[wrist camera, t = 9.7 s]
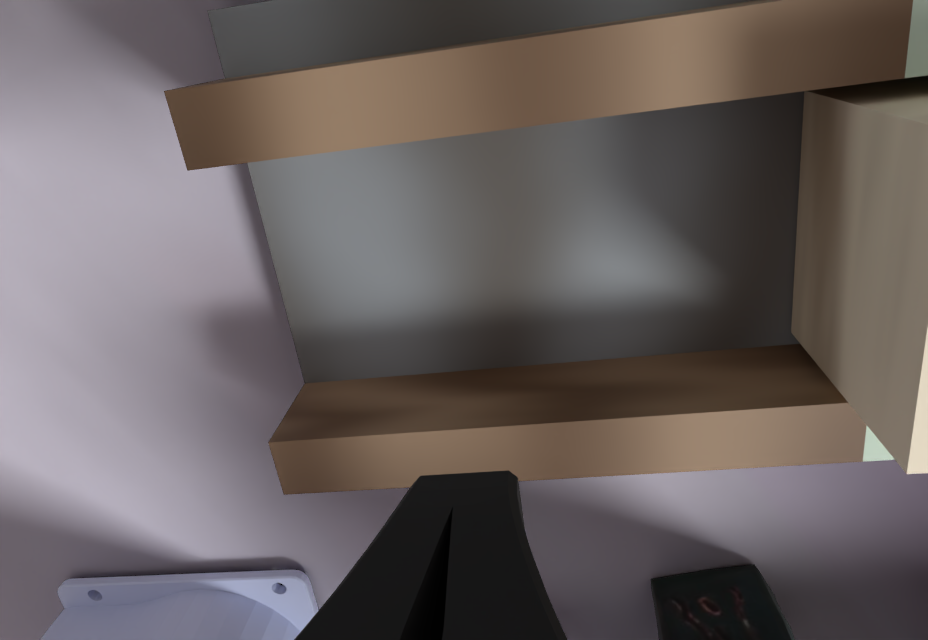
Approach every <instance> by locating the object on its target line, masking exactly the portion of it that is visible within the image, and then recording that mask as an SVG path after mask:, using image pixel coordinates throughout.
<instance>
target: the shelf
mask: <svg viewBox="0 0 928 640" xmlns="http://www.w3.org/2000/svg"><path fill="white" fill-rule="evenodd" d="M207 12H208V15H209V19H210V23H211V27H212V31H213V34H214V38H215V42H216V46H217V50H218V54H219V57H220V61H221V65H222V69H223V73H224V77H225V79H221V80H216V81H211V82H206V83H201V84H197V85H192V86H187V87H182V88H177V89H172V90H167V91H164V93H165V96H166V100H167V103H168V106H169V110H170V113H171V116H172V120H173V123H174V127H175V130H176V133H177V137H178V140H179V143H180V147H181V150H182V153H183V157H184V160H185V164H186V167H187V170H195V169H203V168H211V167H219V166H227V165H234V164H242V163H247V164H248V168H249V172H250V176H251V180H252V184H253V187H254V191H255V195H256V199H257V203H258V206H259V210H260V214H261V218H262V222H263V226H264V229H265V233H266V237H267V241H268V245H269V248H270V252H271V256H272V260H273V264H274V268H275V271H276V275H277V279H278V283H279V287H280V291H281V294H282V298H283V302H284V306H285V310H286V313H287V317H288V321H289V325H290V329H291V333H292V336H293V340H294V344H295V348H296V352H297V356H298V359H299V363H300V367H301V371H302V375H303V378H304V382H305V384H304V386H303V387H302V389H301V390H300V392H299V394H298V395H297V397H296V399H295V400H294V402H293V403H292V405H291V407H290V408H289V410H288V411H287V413H286V415H285V416H284V418H283V420H282V421H281V423H280V424H279V426H278V428H277V429H276V431H275V433H274V434H273V436H272V437H271V439H270V441H269V442H268V443H269V446H270V450H271V453H272V456H273V460H274V463H275V467H276V470H277V473H278V477H279V480H280V483H281V487H282V490H283V493H284V495H285V494H302V493H320V492H337V491H355V490H372V489H390V488H407V487H411V486H412V485H413V483H414V482H415V481H416V480H417V479H418V478H419V477H420V476H423V475H440V474H457V473H474V472H491V471H507V470H509V471H510V472H511V473H513V474H514V475H515V476H517V477H518V481H530V480H548V479H565V478H583V477H600V476H618V475H635V474H653V473H670V472H688V471H705V470H723V469H740V468H758V467H775V466H793V465H811V464H828V463H846V462H863V461H881V460H895V459H894V458H893V457H892V455H891V454H890V453H889V452H888V451H887V449H886V448H885V447H884V446H883V444H882V443H881V442H880V441H879V440H878V438H877V437H876V436H875V435H874V433H873V432H872V431H871V430H870V428H869V427H868V426H867V425H866V424H865V422H864V421H863V420H862V419H861V417H860V416H859V415H858V414H857V413H856V411H855V410H854V409H853V408H852V406H851V405H850V404H849V403H848V402H847V400H846V399H845V398H844V397H843V395H842V394H841V393H840V392H839V391H838V389H837V388H836V387H835V386H834V384H833V383H832V382H831V381H830V379H829V378H828V377H827V376H826V375H825V373H824V372H823V371H822V370H821V368H820V367H819V366H818V365H817V364H816V362H815V361H814V360H813V359H812V357H811V356H810V355H809V354H808V353H807V351H806V350H805V349H804V348H803V346H802V345H801V344H800V343H799V342H798V340H797V339H796V338H795V337H794V335H793V334H792V333H791V324H792V306H793V288H794V270H795V252H796V234H797V216H798V197H799V179H800V161H801V143H802V125H803V107H804V91H810V90H817V89H825V88H833V87H841V86H848V85H856V84H864V83H872V82H879V81H887V80H895V79H903V78H911V77H918V76H926V75H928V0H271V1H265V2H259V3H253V4H247V5H240V6H234V7H228V8H222V9H216V10H210V11H207Z"/></svg>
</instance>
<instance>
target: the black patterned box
mask: <svg viewBox="0 0 928 640" xmlns="http://www.w3.org/2000/svg"><path fill="white" fill-rule="evenodd" d="M651 589H652V595H653V601H654V608H655V614H656V619H657V626H658V634H659V640H795V639H794V636H793V634H792V631H791V628H790V626H789V624H788V623H787V621H786V619H785V618H784V616H783V614H782V612H781V610H780V608H779V605H778V603H777V601H776V598H775V596H774V594H773V592H772V591H771V589H770V588H769V586H768V584H767V583H766V581H765V580H764V578H763V577H762V575H761V574H760V572H759V570H758V569H757V567H756V566H755V565H748V566H739V567H729V568H719V569H710V570H704V571H698V572H692V573H686V574H681V575H675V576H670V577H665V578H656V579H651Z"/></svg>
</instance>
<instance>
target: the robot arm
mask: <svg viewBox="0 0 928 640" xmlns="http://www.w3.org/2000/svg"><path fill="white" fill-rule="evenodd" d="M278 583H281V584H283V585H285V586H283V585H280V584H278ZM57 593H58V597H59V599H60V601H61V603H62V605H63V607H64V610H63V611H62V612H61V613H60V615H59V616H58V617H57V618H56V620H55V621H54V622H53V624H52V625H51V626H50V627H49V629H48V630H47V631H46V632H45V634H44V635H43V636H42V637H41V639H40V640H567V638H566V636H565V633H564V631H563V629H562V627H561V625H560V623H559V620H558V618H557V616H556V614H555V611H554V609H553V607H552V604H551V602H550V600H549V597H548V595H547V593H546V590H545V587H544V585H543V582H542V579H541V577H540V574H539V571H538V569H537V566H536V563H535V561H534V558H533V555H532V552H531V549H530V546H529V543H528V540H527V536H526V533H525V529H524V521H523V514H522V506H521V498H520V491H519V483H518V477H517V476H515V475H514V474H513V473H511V472H510V471H509V470H507V471H491V472H474V473H457V474H440V475H423V476H420V477H419V478H418V479H417V480H416V481H415V482H414V483H413V485H412V486H411V487H410V489H409V490H408V492H407V493H406V495H405V496H404V498H403V499H402V500H401V502H400V503H399V505H398V506H397V508H396V509H395V511H394V512H393V513H392V515H391V516H390V518H389V519H388V521H387V522H386V523H385V525H384V526H383V528H382V529H381V530H380V532H379V533H378V535H377V536H376V537H375V539H374V540H373V541H372V543H371V544H370V546H369V547H368V548H367V550H366V551H365V552H364V554H363V555H362V556H361V558H360V559H359V560H358V561H357V563H356V564H355V565H354V567H353V568H352V569H351V571H350V572H349V573H348V575H347V576H346V577H345V579H344V580H343V581H342V582H341V584H340V585H339V586H338V588H337V589H336V590H335V591H334V593H333V594H332V595H331V596H330V598H329V599H328V600H327V601H326V602H325V604H324V605H323V606H322V607H321V608H320V610H318V606H317V603H316V600H315V596H314V593H313V589H312V586H311V583H310V580H309V578H308V576H307V575H306V574H305V573H303V572H302V571H299V570H270V571H245V572H221V573H196V574H172V575H148V576H123V577H99V578H74V579H67V580H65V581H64V582H63V583H62V584H61V586H60V587H59V588H58V591H57Z"/></svg>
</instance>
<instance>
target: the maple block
mask: <svg viewBox="0 0 928 640" xmlns="http://www.w3.org/2000/svg"><path fill="white" fill-rule="evenodd" d="M791 333H792V334H793V335H794V337H795V338H796V339H797V340H798V342H799V343H800V344H801V345H802V346H803V348H804V349H805V350H806V351H807V353H808V354H809V355H810V356H811V357H812V359H813V360H814V361H815V362H816V364H817V365H818V366H819V367H820V368H821V370H822V371H823V372H824V373H825V375H826V376H827V377H828V378H829V379H830V381H831V382H832V383H833V384H834V386H835V387H836V388H837V389H838V391H839V392H840V393H841V394H842V395H843V397H844V398H845V399H846V400H847V402H848V403H849V404H850V405H851V406H852V408H853V409H854V410H855V411H856V413H857V414H858V415H859V416H860V417H861V419H862V420H863V421H864V422H865V424H866V425H867V426H868V427H869V428H870V430H871V431H872V432H873V433H874V435H875V436H876V437H877V438H878V440H879V441H880V442H881V443H882V444H883V446H884V447H885V448H886V449H887V451H888V452H889V453H890V454H891V455H892V457H893V458H894V459H895V460H896V462H897V463H898V464H899V465H900V466H901V468H902V469H903V470H904V471H905V473H906V474H919V473H928V75H926V76H918V77H911V78H903V79H895V80H887V81H879V82H872V83H864V84H856V85H848V86H841V87H833V88H825V89H817V90H810V91H804V107H803V125H802V143H801V161H800V179H799V197H798V216H797V234H796V252H795V270H794V288H793V306H792V324H791Z"/></svg>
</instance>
